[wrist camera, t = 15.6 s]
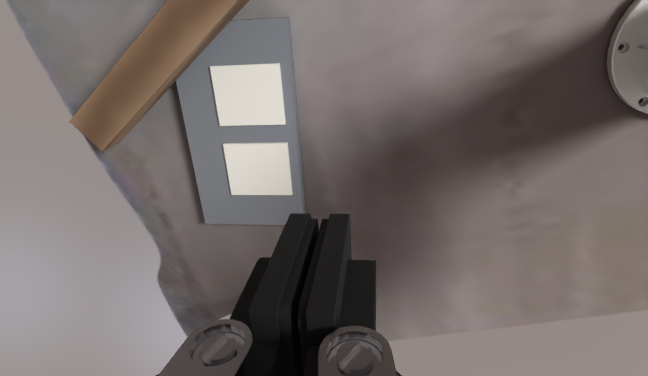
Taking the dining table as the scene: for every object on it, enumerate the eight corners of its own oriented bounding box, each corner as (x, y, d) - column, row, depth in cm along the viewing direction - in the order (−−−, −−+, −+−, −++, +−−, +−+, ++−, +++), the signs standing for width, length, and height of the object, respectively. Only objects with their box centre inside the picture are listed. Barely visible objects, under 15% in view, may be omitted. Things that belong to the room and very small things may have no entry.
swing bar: (274, -28, 34) (264, -30, 31) (119, 142, 42) (101, 151, 40) (240, -68, 33) (228, -75, 30) (89, 113, 41) (69, 121, 39)
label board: (289, 17, 38) (285, 17, 36) (306, 219, 47) (303, 226, 45) (171, 24, 39) (162, 24, 38) (210, 217, 48) (204, 225, 47)
